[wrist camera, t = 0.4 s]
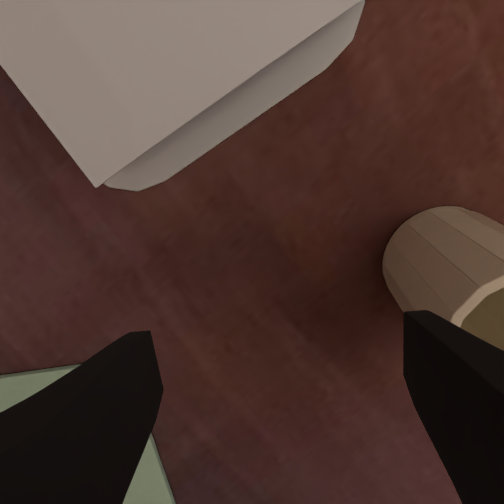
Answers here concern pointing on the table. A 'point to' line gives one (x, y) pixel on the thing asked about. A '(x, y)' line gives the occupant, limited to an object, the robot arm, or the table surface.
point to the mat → (150, 466)
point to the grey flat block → (163, 73)
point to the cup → (450, 269)
